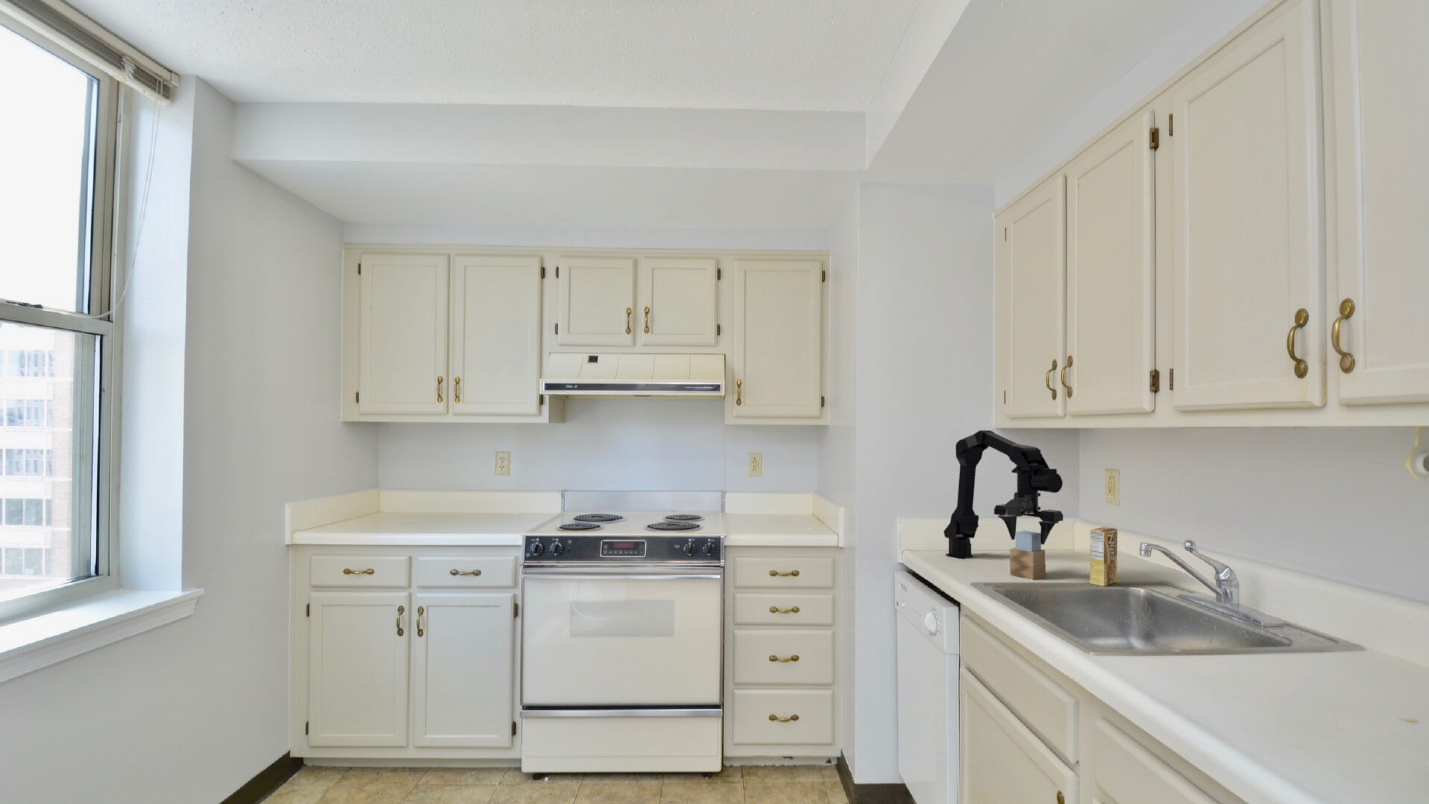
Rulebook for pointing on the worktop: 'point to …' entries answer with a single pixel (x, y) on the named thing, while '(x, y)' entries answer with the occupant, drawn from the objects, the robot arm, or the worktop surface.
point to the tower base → (1028, 571)
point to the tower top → (1027, 557)
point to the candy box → (1103, 556)
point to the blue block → (1028, 541)
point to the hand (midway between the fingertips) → (1027, 541)
